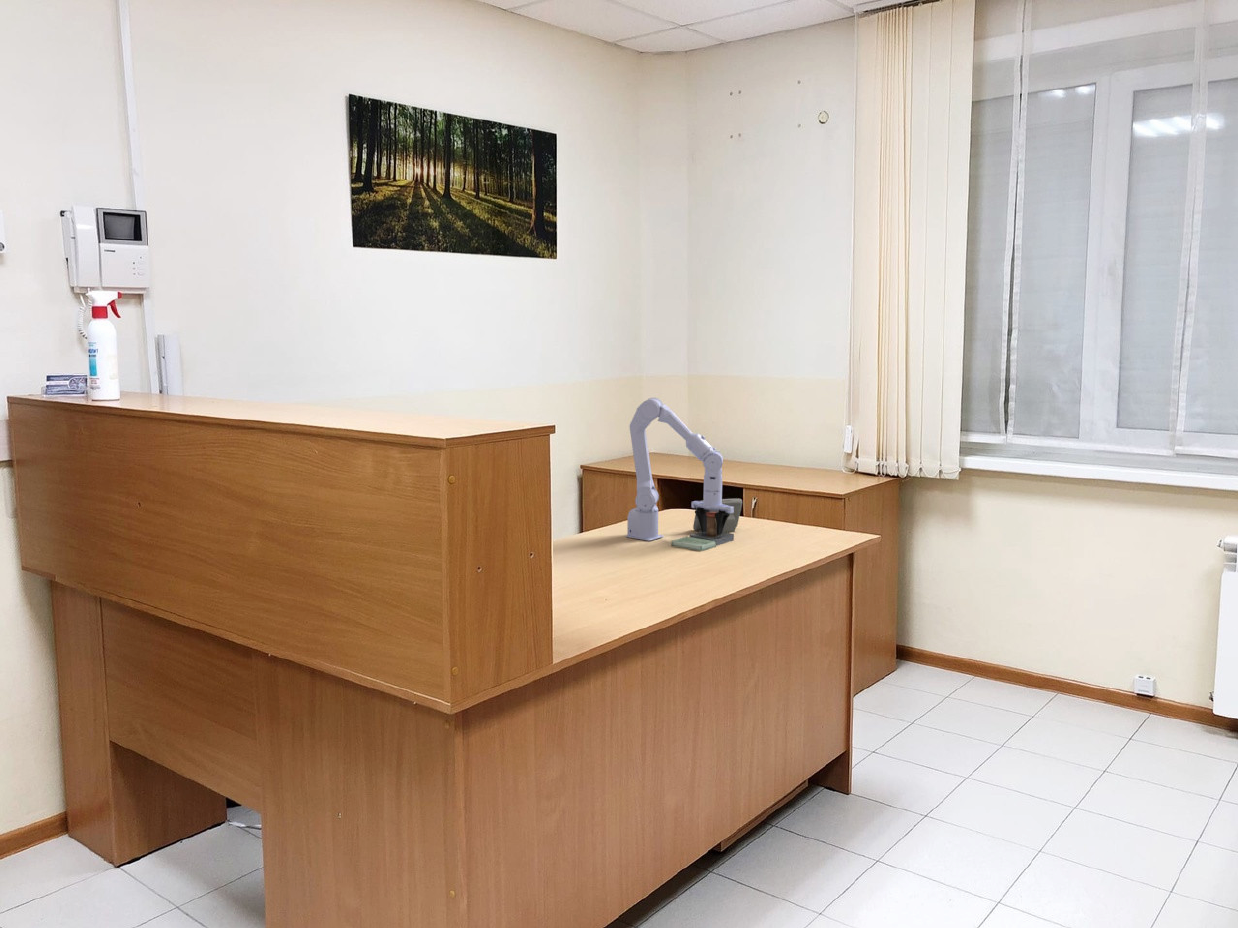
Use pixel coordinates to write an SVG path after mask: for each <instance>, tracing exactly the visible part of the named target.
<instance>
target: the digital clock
mask: <svg viewBox="0 0 1238 928" xmlns="http://www.w3.org/2000/svg"><path fill="white" fill-rule="evenodd" d="M698 501H699V502H703V500H698ZM722 504H725V505H728V506H733V507H734V513H731V514H730V515H729V517H728V518H727V520H726V522H725V525H724V528H723V532H725V533H726V532H728V533H735V532H736V528H737V527H738V524H739V521H740V520H739V519H740V515H741V511H742V506H743V500H742V499H741V498H722ZM695 510H697V508H695ZM709 512H719V511H713V510H710V511H709ZM694 514H695V513H694ZM692 527H693V528H692V529H693V530H694V531H696V532H697V531H698V532H701V526H700V523H699V520H698V518H697V516H696V514H695V515H694V520H693V526H692Z"/></svg>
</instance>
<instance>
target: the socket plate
mask: <svg viewBox="0 0 1238 928" xmlns="http://www.w3.org/2000/svg"><path fill="white" fill-rule="evenodd" d="M689 537H692V538H698V539H703V540H709V541H715V542H716V547H717V546H720V545H723V544H727V543H729V542H731V541H735V534H734V533H732V532H728V533H725V532H722V534H720V535H717V536H708V535H707V532H702V531H698V532H697V531H696V532H693V533H691V534H689Z"/></svg>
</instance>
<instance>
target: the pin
mask: <svg viewBox="0 0 1238 928" xmlns="http://www.w3.org/2000/svg"><path fill="white" fill-rule="evenodd" d="M715 513H717V512H707V513H706V516H707V535H708V536H717V532H716V528H717V524H716V517H715Z"/></svg>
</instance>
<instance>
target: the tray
mask: <svg viewBox="0 0 1238 928" xmlns="http://www.w3.org/2000/svg"><path fill="white" fill-rule="evenodd" d="M671 547H676V548H681V549H686V550H694V551H698V552H702V551H706V550H710V549H712V548H716V547H717V546H716V542H715V541H709V540H703V539H698V538H692V537H690V536H684V537H680V538H677V539H674V540H671Z"/></svg>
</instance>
